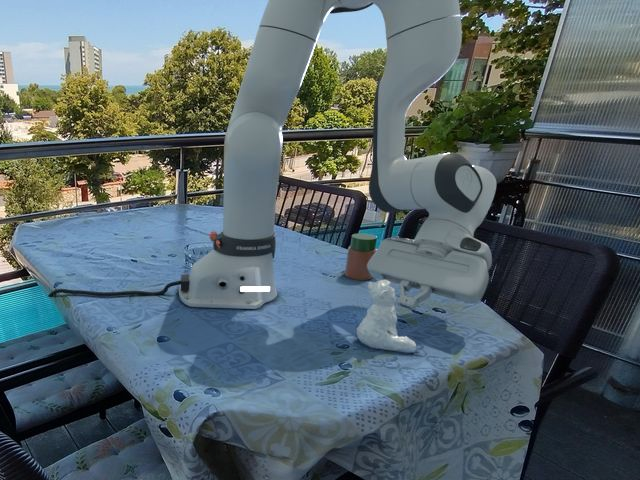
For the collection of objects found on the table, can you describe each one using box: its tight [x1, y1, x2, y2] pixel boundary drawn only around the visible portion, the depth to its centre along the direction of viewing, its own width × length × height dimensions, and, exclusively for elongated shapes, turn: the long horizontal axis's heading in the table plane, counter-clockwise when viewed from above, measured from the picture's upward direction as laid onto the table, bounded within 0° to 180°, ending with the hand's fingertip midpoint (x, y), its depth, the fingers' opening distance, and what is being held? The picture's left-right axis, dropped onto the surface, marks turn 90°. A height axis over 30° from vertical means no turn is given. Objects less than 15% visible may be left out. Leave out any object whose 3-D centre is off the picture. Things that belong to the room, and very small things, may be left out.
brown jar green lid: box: [344, 232, 378, 281], centre depth 113 cm, size 6×6×10 cm
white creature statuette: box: [355, 279, 417, 354], centre depth 82 cm, size 10×9×12 cm
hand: (405, 306), depth 86 cm, fingers closed
